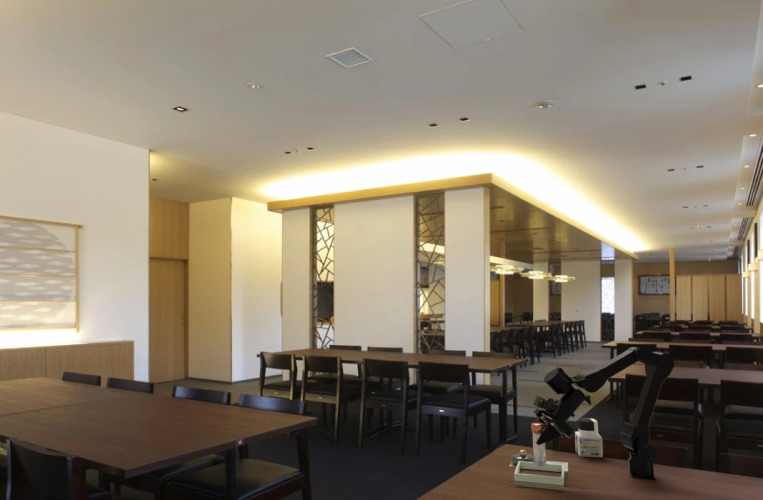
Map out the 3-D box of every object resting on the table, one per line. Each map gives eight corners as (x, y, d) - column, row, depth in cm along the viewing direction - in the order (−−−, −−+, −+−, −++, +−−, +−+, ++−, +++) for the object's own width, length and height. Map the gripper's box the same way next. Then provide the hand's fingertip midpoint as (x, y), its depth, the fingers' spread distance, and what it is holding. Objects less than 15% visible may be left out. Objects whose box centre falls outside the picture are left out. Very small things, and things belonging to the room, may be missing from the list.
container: (579, 459, 187) (578, 420, 188) (575, 453, 194) (574, 416, 196) (603, 460, 186) (601, 421, 187) (598, 454, 193) (596, 416, 194)
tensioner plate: (568, 465, 179) (567, 450, 180) (567, 474, 170) (567, 458, 170) (512, 461, 185) (512, 446, 186) (509, 469, 176) (509, 453, 176)
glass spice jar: (543, 462, 168) (542, 422, 169) (549, 466, 164) (547, 425, 165) (530, 462, 168) (529, 423, 169) (535, 466, 164) (534, 425, 165)
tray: (564, 474, 170) (564, 464, 170) (563, 488, 156) (563, 478, 157) (518, 470, 174) (518, 461, 175) (514, 484, 161) (514, 473, 161)
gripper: (538, 382, 178) (506, 417, 176) (561, 391, 159) (526, 430, 157) (562, 406, 178) (531, 442, 176) (588, 417, 159) (553, 457, 157)
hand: (534, 442), depth 166 cm, fingers closed on glass spice jar, 4 cm apart
